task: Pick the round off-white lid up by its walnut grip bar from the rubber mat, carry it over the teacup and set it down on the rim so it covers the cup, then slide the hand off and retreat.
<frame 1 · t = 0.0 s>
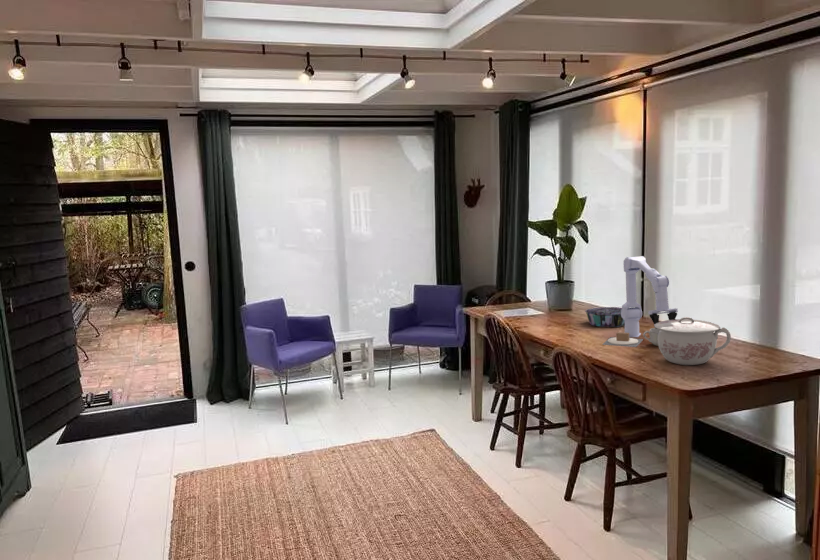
hand: (664, 328, 298), 11 cm above the table, tool pointing down, fingers open, 7 cm apart
mat: (622, 342, 317), on the table
chamber pot: (686, 362, 275), on the table
teacup: (657, 345, 308), on the table
decorative bowl: (608, 324, 364), on the table
lid: (622, 341, 317), resting on mat
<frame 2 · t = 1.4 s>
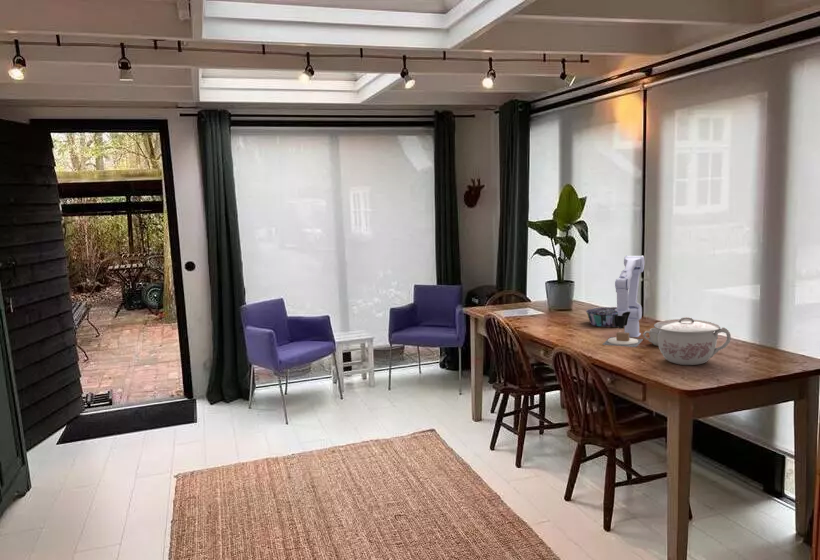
hand: (622, 326, 316), 8 cm above the table, tool pointing down, fingers open, 7 cm apart
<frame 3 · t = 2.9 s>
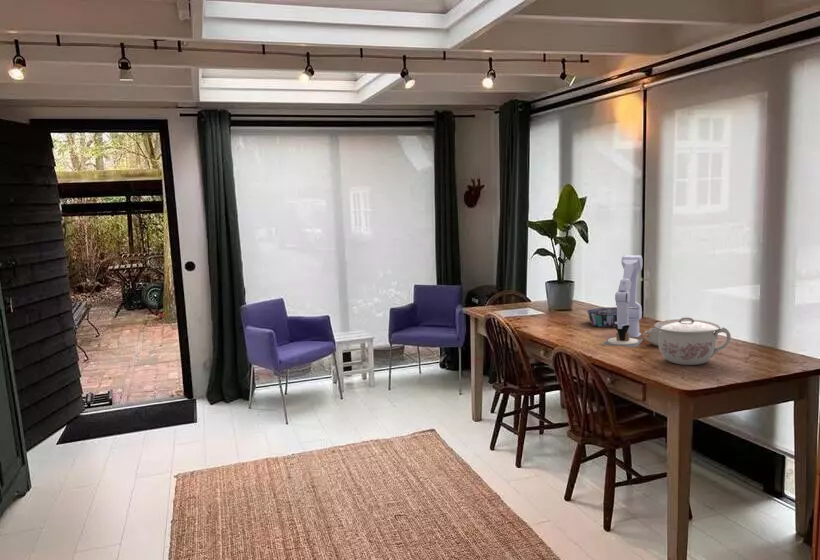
hand: (622, 339, 317), 2 cm above the table, tool pointing down, fingers closed on lid, 2 cm apart
lid: (622, 341, 317), resting on mat, touching gripper
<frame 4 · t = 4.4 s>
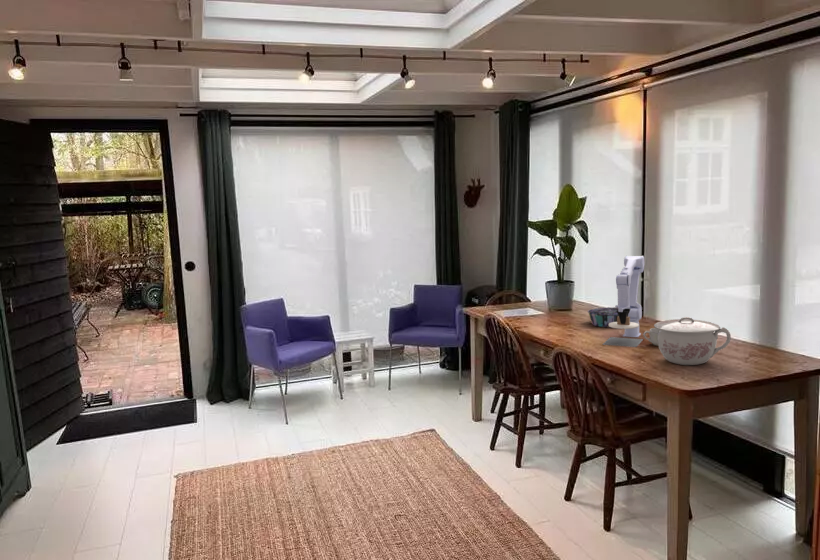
hand: (623, 323, 315), 10 cm above the table, tool pointing down, fingers closed on lid, 2 cm apart
lid: (623, 325, 315), point 9 cm above the table, touching gripper
when the fingers open (10 cm above the table, at t = 6.3 s): lid stays where it is, resting on teacup.
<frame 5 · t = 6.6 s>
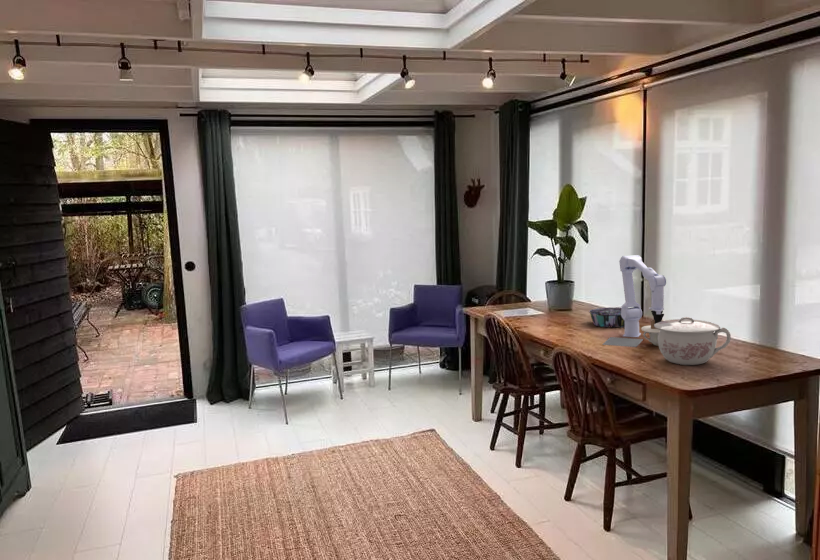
hand: (657, 325, 307), 10 cm above the table, tool pointing down, fingers open, 5 cm apart
teacup: (657, 345, 308), on the table, touching lid
lid: (657, 329, 307), point 8 cm above the table, touching teacup
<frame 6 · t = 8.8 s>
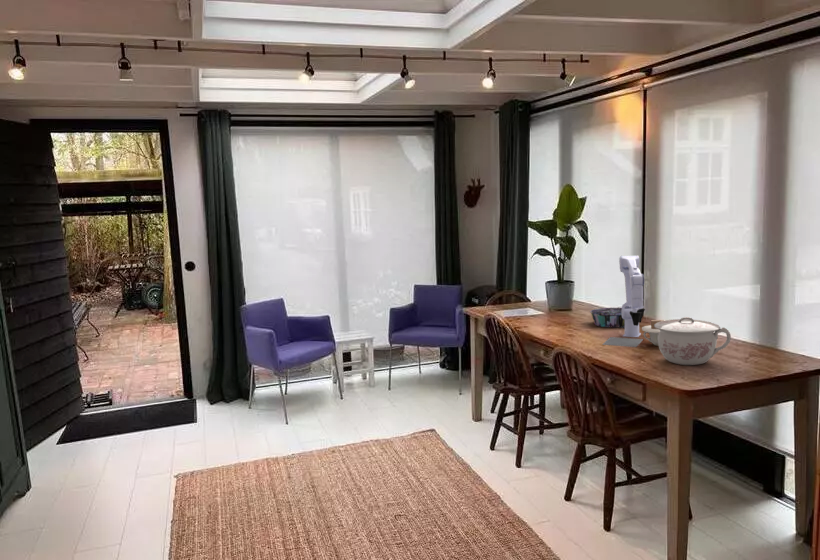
hand: (637, 323, 312), 10 cm above the table, tool pointing down, fingers open, 7 cm apart
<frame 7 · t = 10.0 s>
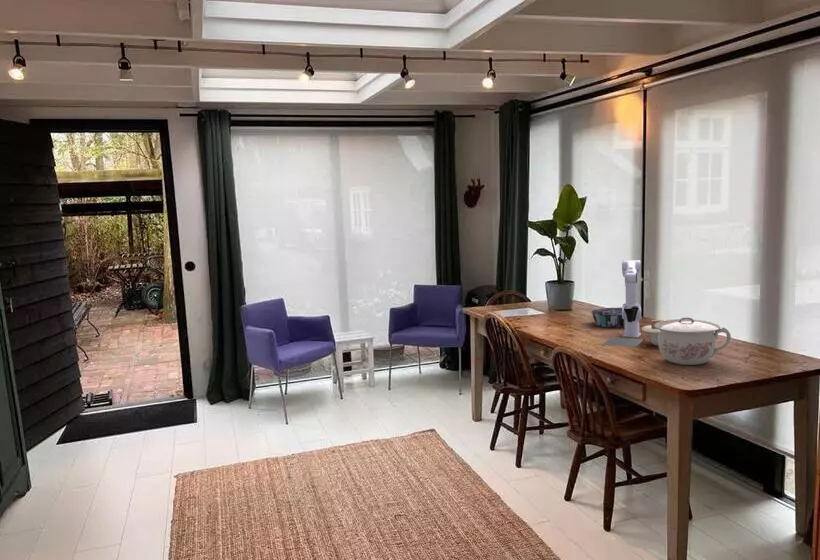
hand: (631, 321, 317), 11 cm above the table, tool pointing down, fingers open, 7 cm apart
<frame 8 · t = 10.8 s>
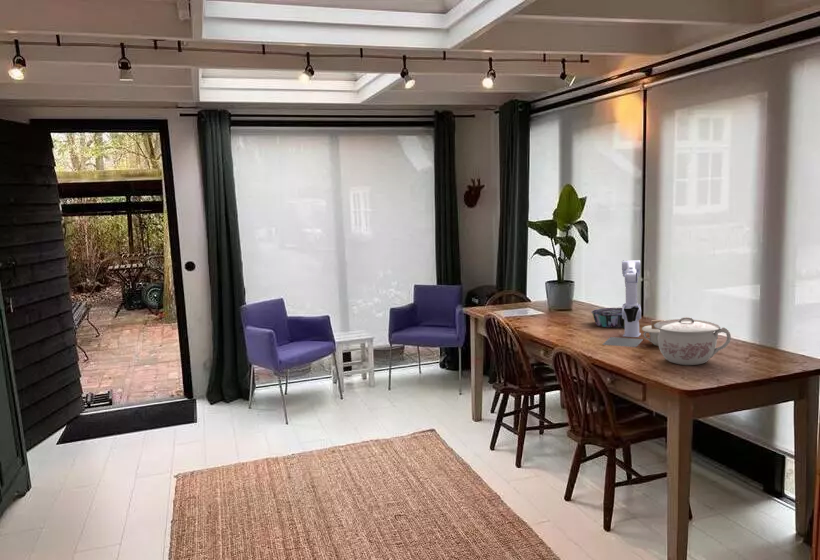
hand: (631, 321, 317), 11 cm above the table, tool pointing down, fingers open, 7 cm apart
at the end: lid 0.1 cm from the teacup (horizontally); lid point 7.9 cm above the table; lid tilted 0° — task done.
